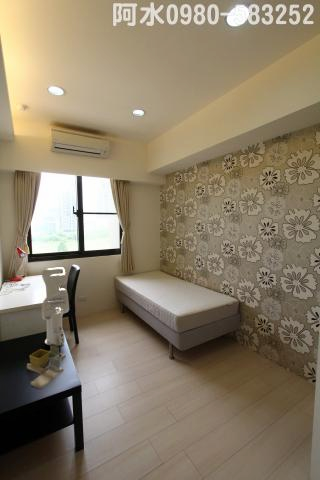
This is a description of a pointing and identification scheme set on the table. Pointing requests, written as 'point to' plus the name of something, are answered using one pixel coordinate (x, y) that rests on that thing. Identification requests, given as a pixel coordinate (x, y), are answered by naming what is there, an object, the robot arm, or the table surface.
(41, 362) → the flower pot
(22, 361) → the table surface
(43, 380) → the beige l-shaped piece
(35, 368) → the wooden frame with block
